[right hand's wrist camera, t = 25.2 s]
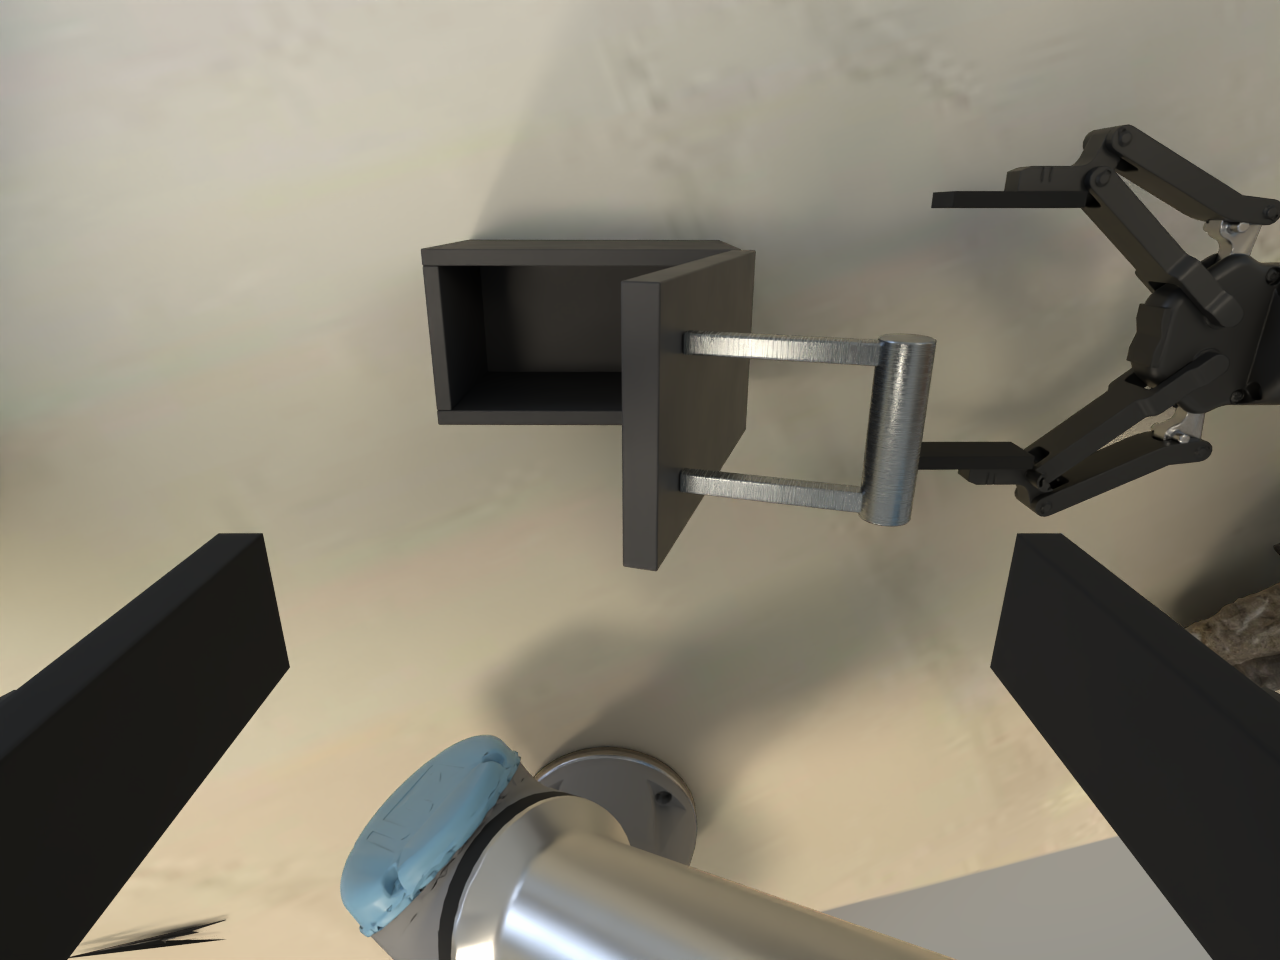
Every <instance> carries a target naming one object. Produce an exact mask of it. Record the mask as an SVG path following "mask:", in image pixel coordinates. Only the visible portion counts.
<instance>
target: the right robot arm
mask: <svg viewBox="0 0 1280 960" xmlns="http://www.w3.org/2000/svg"><path fill="white" fill-rule="evenodd" d="M289 668H290V666H289V661H288V656H287V651H286V646H285V641H284V636H283V631H282V626H281V621H280V616H279V611H278V606H277V601H276V597H275V592H274V587H273V582H272V577H271V572H270V567H269V562H268V557H267V552H266V547H265V542H264V537H263V533H219V534H217V535H216V536H215V537H213V538H212V539H211V540H210V541H208V542H207V543H206V544H204V545H203V546H202V547H201V548H199V549H198V550H197V551H195V552H194V553H193V554H191V555H190V556H189V557H188V558H186V559H185V560H184V561H182V562H181V563H180V564H179V565H177V566H176V567H175V568H173V569H172V570H171V571H170V572H168V573H167V574H166V575H164V576H163V577H162V578H161V579H159V580H158V581H157V582H155V583H154V584H153V585H151V586H150V587H149V588H148V589H146V590H145V591H144V592H142V593H141V594H140V595H139V596H137V597H136V598H135V599H133V600H132V601H131V602H130V603H128V604H127V605H126V606H124V607H123V608H122V609H120V610H119V611H118V612H117V613H115V614H114V615H113V616H111V617H110V618H109V619H108V620H106V621H105V622H104V623H102V624H101V625H100V626H99V627H97V628H96V629H95V630H93V631H92V632H91V633H89V634H88V635H87V636H86V637H84V638H83V639H82V640H80V641H79V642H78V643H77V644H75V645H74V646H73V647H71V648H70V649H69V650H68V651H66V652H65V653H64V654H62V655H61V656H60V657H59V658H57V659H56V660H55V661H53V662H52V663H51V664H49V665H48V666H47V667H46V668H44V669H43V670H42V671H40V672H39V673H38V674H37V675H35V676H34V677H33V678H31V679H30V680H29V681H28V682H26V683H25V684H24V685H22V686H21V687H20V688H18V689H17V690H13V691H11V692H9V693H7V694H5V695H3V696H1V697H0V960H67V959H68V958H69V957H70V955H71V954H72V953H73V951H74V950H75V949H76V948H77V946H78V945H79V944H80V942H81V941H82V940H83V938H84V937H85V936H86V934H87V933H88V932H89V930H90V929H91V928H92V927H93V925H94V924H95V923H96V921H97V920H98V919H99V917H100V916H101V915H102V913H103V912H104V911H105V909H106V908H107V907H108V905H109V904H110V903H111V902H112V900H113V899H114V898H115V896H116V895H117V894H118V892H119V891H120V890H121V888H122V887H123V886H124V884H125V883H126V882H127V881H128V879H129V878H130V877H131V875H132V874H133V873H134V871H135V870H136V869H137V867H138V866H139V865H140V863H141V862H142V861H143V860H144V858H145V857H146V856H147V854H148V853H149V852H150V850H151V849H152V848H153V846H154V845H155V844H156V842H157V841H158V840H159V838H160V837H161V836H162V835H163V833H164V832H165V831H166V829H167V828H168V827H169V825H170V824H171V823H172V821H173V820H174V819H175V817H176V816H177V815H178V814H179V812H180V811H181V810H182V808H183V807H184V806H185V804H186V803H187V802H188V800H189V799H190V798H191V796H192V795H193V794H194V792H195V791H196V790H197V789H198V787H199V786H200V785H201V783H202V782H203V781H204V779H205V778H206V777H207V775H208V774H209V773H210V771H211V770H212V769H213V768H214V766H215V765H216V764H217V762H218V761H219V760H220V758H221V757H222V756H223V754H224V753H225V752H226V750H227V749H228V748H229V747H230V745H231V744H232V743H233V741H234V740H235V739H236V737H237V736H238V735H239V733H240V732H241V731H242V729H243V728H244V727H245V725H246V724H247V723H248V722H249V720H250V719H251V718H252V716H253V715H254V714H255V712H256V711H257V710H258V708H259V707H260V706H261V704H262V703H263V702H264V701H265V699H266V698H267V697H268V695H269V694H270V693H271V691H272V690H273V689H274V687H275V686H276V685H277V683H278V682H279V681H280V679H281V678H282V677H283V676H284V674H285V673H286V672H287V670H288V669H289ZM990 668H991V669H992V670H993V672H994V673H995V674H996V676H997V677H998V678H999V680H1000V681H1001V682H1002V683H1003V685H1004V686H1005V687H1006V689H1007V690H1008V691H1009V693H1010V694H1011V695H1012V697H1013V698H1014V699H1015V701H1016V702H1017V703H1018V704H1019V706H1020V707H1021V708H1022V710H1023V711H1024V712H1025V714H1026V715H1027V716H1028V718H1029V719H1030V720H1031V722H1032V723H1033V724H1034V725H1035V727H1036V728H1037V729H1038V731H1039V732H1040V733H1041V735H1042V736H1043V737H1044V739H1045V740H1046V741H1047V743H1048V744H1049V745H1050V747H1051V748H1052V749H1053V750H1054V752H1055V753H1056V754H1057V756H1058V757H1059V758H1060V760H1061V761H1062V762H1063V764H1064V765H1065V766H1066V768H1067V769H1068V770H1069V771H1070V773H1071V774H1072V775H1073V777H1074V778H1075V779H1076V781H1077V782H1078V783H1079V785H1080V786H1081V787H1082V789H1083V790H1084V791H1085V792H1086V794H1087V795H1088V796H1089V798H1090V799H1091V800H1092V802H1093V803H1094V804H1095V806H1096V807H1097V808H1098V810H1099V811H1100V812H1101V814H1102V815H1103V816H1104V817H1105V819H1106V820H1107V821H1108V823H1109V824H1110V825H1111V827H1112V828H1113V829H1114V831H1115V832H1116V833H1117V835H1118V836H1119V837H1120V838H1121V840H1122V841H1123V842H1124V844H1125V845H1126V846H1127V848H1128V849H1129V850H1130V852H1131V853H1132V854H1133V856H1134V857H1135V858H1136V859H1137V861H1138V862H1139V863H1140V865H1141V866H1142V867H1143V869H1144V870H1145V871H1146V873H1147V874H1148V875H1149V877H1150V878H1151V879H1152V881H1153V882H1154V883H1155V884H1156V886H1157V887H1158V888H1159V890H1160V891H1161V892H1162V894H1163V895H1164V896H1165V897H1166V899H1167V900H1168V902H1169V903H1170V904H1171V905H1172V907H1173V908H1174V909H1175V911H1176V912H1177V913H1178V915H1179V916H1180V917H1181V919H1182V920H1183V921H1184V923H1185V924H1186V925H1187V926H1188V928H1189V929H1190V930H1191V932H1192V933H1193V934H1194V936H1195V937H1196V938H1197V940H1198V941H1199V942H1200V944H1201V945H1202V946H1203V947H1204V949H1205V950H1206V951H1207V953H1208V954H1209V955H1210V957H1211V958H1212V959H1213V960H1280V694H1279V693H1277V692H1275V691H1273V690H1271V689H1269V688H1267V687H1259V686H1258V685H1256V684H1255V683H1254V682H1252V681H1251V680H1250V679H1249V678H1247V677H1246V676H1245V675H1243V674H1242V673H1241V672H1240V671H1238V670H1237V669H1236V668H1234V667H1233V666H1232V665H1231V664H1229V663H1228V662H1227V661H1225V660H1224V659H1223V658H1221V657H1220V656H1219V655H1218V654H1216V653H1215V652H1214V651H1212V650H1211V649H1210V648H1209V647H1207V646H1206V645H1205V644H1203V643H1202V642H1201V641H1200V640H1198V639H1197V638H1196V637H1194V636H1193V635H1192V634H1191V633H1189V632H1188V631H1187V630H1185V629H1184V628H1183V627H1181V626H1180V625H1179V624H1178V623H1176V622H1175V621H1174V620H1172V619H1171V618H1170V617H1169V616H1167V615H1166V614H1165V613H1163V612H1162V611H1161V610H1160V609H1158V608H1157V607H1156V606H1154V605H1153V604H1152V603H1150V602H1149V601H1148V600H1147V599H1145V598H1144V597H1143V596H1141V595H1140V594H1139V593H1138V592H1136V591H1135V590H1134V589H1132V588H1131V587H1130V586H1129V585H1127V584H1126V583H1125V582H1123V581H1122V580H1121V579H1119V578H1118V577H1117V576H1116V575H1114V574H1113V573H1112V572H1110V571H1109V570H1108V569H1107V568H1105V567H1104V566H1103V565H1101V564H1100V563H1099V562H1098V561H1096V560H1095V559H1094V558H1092V557H1091V556H1090V555H1089V554H1087V553H1086V552H1085V551H1083V550H1082V549H1081V548H1079V547H1078V546H1077V545H1076V544H1074V543H1073V542H1072V541H1070V540H1069V539H1068V538H1067V537H1065V536H1064V535H1063V534H1061V533H1017V537H1016V542H1015V547H1014V552H1013V557H1012V562H1011V567H1010V572H1009V577H1008V582H1007V587H1006V592H1005V597H1004V601H1003V606H1002V611H1001V616H1000V621H999V626H998V631H997V636H996V641H995V646H994V651H993V656H992V661H991V666H990Z"/></svg>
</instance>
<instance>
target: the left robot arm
mask: <svg viewBox="0 0 1280 960" xmlns="http://www.w3.org/2000/svg"><path fill="white" fill-rule="evenodd" d="M1083 149H1084V150H1083V152H1082V154H1081V156H1080V158H1079V159H1078V161H1077V162H1076V163H1075V164H1073V165H1072V166H1029V167H1020V168H1016V169H1014V170H1011V171H1009V172H1007V177H1006V183H1005V189H1004V191H951V192H935V193H933V199H932V206H931V208H1081V209H1082V210H1083V211H1084V212H1085V213H1086V214H1087V215H1088V217H1089V218H1090V219H1091V220H1092V221H1093V222H1094V223H1095V224H1096V225H1097V227H1098V228H1099V229H1100V230H1101V231H1102V232H1103V233H1104V234H1105V235H1106V237H1107V238H1108V239H1109V240H1110V241H1111V242H1112V243H1113V244H1114V245H1115V247H1116V248H1117V249H1118V250H1119V251H1120V252H1121V253H1122V254H1123V255H1124V257H1125V258H1126V259H1127V260H1128V261H1129V262H1130V263H1131V264H1132V265H1133V267H1134V268H1135V269H1136V271H1135V274H1136V276H1137V277H1138V278H1139V279H1140V280H1141V281H1142V282H1143V284H1144V285H1145V286H1146V287H1147V288H1148V289H1149V290H1150V291H1151V292H1152V294H1151V295H1150V296H1149V298H1148V299H1147V301H1146V302H1145V304H1140V305H1139V309H1138V313H1137V317H1136V321H1137V333H1136V335H1135V337H1134V339H1133V341H1132V343H1131V345H1130V347H1129V351H1128V356H1127V360H1128V361H1131V365H1132V368H1131V369H1130V370H1128V371H1127V372H1126V373H1124V374H1123V375H1121V376H1120V377H1118V378H1117V379H1116V380H1114V381H1113V382H1112V383H1110V385H1109V389H1108V391H1107V392H1105V393H1104V394H1102V395H1101V396H1100V397H1098V398H1097V399H1095V400H1094V401H1092V402H1091V403H1090V404H1088V405H1087V406H1085V407H1084V408H1082V409H1081V410H1080V411H1078V412H1077V413H1075V414H1074V415H1073V416H1071V417H1070V418H1068V419H1067V420H1065V421H1064V422H1063V423H1061V424H1060V425H1058V426H1057V427H1055V428H1054V429H1053V430H1051V431H1050V432H1048V433H1047V434H1045V435H1044V436H1043V437H1041V438H1040V439H1038V440H1037V441H1035V442H1034V443H1033V444H1031V445H1030V446H1028V447H1027V448H1025V449H1024V450H1023V449H1022V448H1020V447H1018V446H1017V445H1015V444H1014V443H1012V442H922V444H921V451H920V458H919V464H918V470H951V469H958V474H960V475H961V476H962V477H963V478H965V479H966V480H967V481H969V482H971V483H974V484H976V485H986V484H987V485H993V484H994V485H1010V484H1016V486H1017V488H1016V490H1015V497H1016V498H1017V499H1018V500H1019V501H1020V502H1022V503H1023V504H1024V505H1026V506H1027V507H1028V508H1030V509H1031V510H1032V511H1034V512H1035V513H1036V514H1038V515H1039V516H1043V517H1046V516H1049V515H1052V514H1054V513H1056V512H1059V511H1061V510H1064V509H1066V508H1068V507H1071V506H1073V505H1075V504H1078V503H1080V502H1082V501H1085V500H1087V499H1090V498H1092V497H1094V496H1097V495H1099V494H1101V493H1104V492H1106V491H1109V490H1111V489H1113V488H1116V487H1118V486H1120V485H1123V484H1125V483H1127V482H1130V481H1132V480H1135V479H1137V478H1139V477H1142V476H1144V475H1146V474H1149V473H1151V472H1153V471H1156V470H1158V469H1161V468H1163V467H1165V466H1168V465H1173V464H1182V463H1191V462H1200V461H1203V460H1205V459H1207V458H1208V457H1209V456H1210V455H1211V452H1212V445H1211V444H1210V443H1209V442H1207V441H1205V440H1202V439H1201V435H1202V429H1203V422H1204V416H1205V413H1206V412H1209V411H1211V410H1213V409H1215V408H1217V407H1220V406H1224V405H1280V263H1261V262H1258V261H1256V260H1255V259H1253V258H1252V257H1251V256H1250V254H1251V251H1252V249H1253V246H1254V243H1255V241H1256V238H1257V236H1258V233H1259V231H1260V228H1261V226H1262V225H1270V224H1272V223H1275V222H1276V221H1277V220H1278V219H1279V217H1280V201H1278V200H1275V199H1268V198H1260V197H1252V196H1244V195H1241V194H1240V193H1238V192H1237V191H1235V190H1233V189H1232V188H1230V187H1229V186H1227V185H1226V184H1224V183H1222V182H1221V181H1219V180H1218V179H1216V178H1214V177H1213V176H1211V175H1210V174H1208V173H1207V172H1205V171H1203V170H1202V169H1200V168H1199V167H1197V166H1196V165H1194V164H1192V163H1191V162H1189V161H1188V160H1186V159H1184V158H1183V157H1181V156H1180V155H1178V154H1177V153H1175V152H1173V151H1172V150H1170V149H1169V148H1167V147H1165V146H1164V145H1162V144H1161V143H1159V142H1158V141H1156V140H1154V139H1153V138H1151V137H1150V136H1148V135H1146V134H1145V133H1143V132H1142V131H1140V130H1139V129H1137V128H1135V127H1134V126H1132V125H1122V126H1115V127H1110V128H1104V129H1099V130H1093V131H1092V132H1090V133H1088V135H1087V136H1086V137H1085V139H1084V141H1083ZM1117 173H1118V174H1120V175H1121V176H1123V177H1125V178H1126V179H1128V180H1129V181H1131V182H1133V183H1134V184H1136V185H1138V186H1139V187H1141V188H1142V189H1144V190H1146V191H1147V192H1149V193H1151V194H1152V195H1154V196H1155V197H1157V198H1159V199H1160V200H1162V201H1164V202H1165V203H1167V204H1168V205H1170V206H1172V207H1173V208H1175V209H1177V210H1178V211H1180V212H1181V213H1183V214H1185V215H1187V216H1189V217H1191V218H1194V219H1197V220H1200V221H1206V222H1205V224H1204V225H1203V229H1204V231H1205V232H1208V235H1209V236H1210V237H1212V238H1214V239H1216V240H1217V241H1218V243H1219V252H1218V253H1216V254H1213V255H1211V256H1209V257H1207V258H1205V259H1204V260H1202V261H1201V262H1200V261H1199V260H1197V259H1196V258H1194V257H1191V256H1189V255H1188V254H1187V253H1185V251H1184V250H1183V249H1182V248H1181V247H1180V246H1179V245H1178V243H1177V242H1176V241H1175V240H1174V239H1173V238H1172V236H1171V235H1170V234H1169V233H1168V232H1167V231H1166V230H1165V228H1164V227H1163V226H1162V225H1161V224H1160V223H1159V222H1158V220H1157V219H1156V218H1155V217H1154V216H1153V215H1152V213H1151V212H1150V211H1149V210H1148V209H1147V208H1146V207H1145V205H1144V204H1143V203H1142V202H1141V201H1140V200H1139V199H1138V197H1137V196H1136V195H1135V194H1134V193H1133V192H1132V190H1131V189H1130V188H1129V187H1128V186H1127V185H1126V184H1125V182H1124V181H1123V180H1122V179H1121V178H1120V177H1119V176H1118V174H1117ZM1146 386H1149V387H1150V388H1151V389H1145V387H1146ZM1171 406H1172V407H1174V408H1176V411H1175V414H1174V415H1173V416H1172V417H1171V418H1170V419H1169V420H1167V421H1164V422H1161V423H1155V424H1153V425H1152V427H1151V431H1150V432H1144V433H1140V434H1136V435H1133V436H1131V437H1128V438H1126V439H1123V440H1121V441H1119V442H1117V443H1114V444H1112V445H1110V446H1107V447H1105V448H1103V449H1100V448H1101V447H1103V446H1104V445H1106V444H1107V443H1109V442H1110V441H1112V440H1113V439H1115V438H1116V437H1117V436H1119V435H1120V434H1122V433H1123V432H1125V431H1126V430H1128V429H1129V428H1131V427H1132V426H1134V425H1135V424H1136V423H1138V422H1139V421H1141V420H1142V419H1144V418H1146V417H1149V416H1156V415H1159V414H1161V413H1162V412H1164V411H1165V410H1167V409H1168V408H1170V407H1171ZM1098 449H1100V450H1098ZM1097 450H1098V451H1097ZM696 833H697V820H696V810H695V804H694V801H693V797H692V795H691V793H690V791H689V789H688V787H687V785H686V784H685V783H684V781H683V780H682V779H681V778H680V777H679V775H678V774H677V773H676V772H674V771H673V770H672V769H671V768H670V767H668V766H667V765H666V764H664V763H662V762H661V761H659V760H657V759H655V758H653V757H651V756H649V755H646V754H644V753H641V752H637V751H634V750H629V749H624V748H615V747H597V748H589V749H584V750H579V751H576V752H572V753H570V754H567V755H564V756H562V757H560V758H558V759H556V760H554V761H553V762H551V763H549V764H548V765H547V766H545V767H544V768H543V769H542V770H541V771H540V772H538V773H537V774H536V776H535V777H532V776H531V775H530V774H529V772H528V771H527V770H526V769H525V767H524V766H523V765H522V763H521V762H520V757H519V756H518V752H516V751H512V750H511V749H510V748H509V747H508V746H507V745H506V744H505V743H504V742H503V741H502V740H501V739H499V738H497V737H495V736H491V735H480V736H474V737H470V738H467V739H465V740H462V741H460V742H458V743H456V744H454V745H452V746H450V747H449V748H447V749H445V750H444V751H442V752H441V753H439V754H438V755H437V756H436V757H434V758H432V759H431V760H430V761H428V762H427V763H425V764H424V765H423V766H422V767H421V768H419V769H418V770H417V771H416V772H415V773H414V774H413V775H412V776H410V777H409V778H408V779H407V780H406V781H405V782H404V783H403V784H402V785H401V786H400V787H399V788H398V789H397V790H396V791H395V792H394V793H393V794H392V795H391V796H390V797H389V798H388V799H387V800H386V802H385V803H384V804H383V805H382V806H381V807H380V809H379V810H378V811H377V812H376V814H375V815H374V816H373V817H372V819H371V820H370V821H369V823H368V824H367V826H366V827H365V828H364V830H363V831H362V833H361V834H360V836H359V838H358V839H357V841H356V843H355V845H354V848H353V849H352V851H351V852H350V854H349V856H348V858H347V861H346V863H345V866H344V870H343V873H342V877H341V884H340V892H341V898H342V901H343V904H344V906H345V907H346V909H347V910H348V911H349V912H350V914H351V915H352V916H353V917H354V918H355V920H356V921H357V922H358V923H359V924H360V932H361V933H362V934H364V935H365V936H367V937H370V936H371V937H372V938H373V939H374V940H375V941H376V942H377V943H378V944H379V945H380V946H381V947H382V948H383V949H384V950H385V951H386V952H387V953H388V954H389V955H390V956H391V957H392V958H393V959H394V960H956V959H953V958H951V957H948V956H945V955H942V954H939V953H936V952H933V951H930V950H928V949H925V948H922V947H919V946H916V945H913V944H910V943H907V942H905V941H902V940H899V939H896V938H893V937H890V936H887V935H885V934H882V933H879V932H876V931H873V930H870V929H867V928H864V927H862V926H859V925H856V924H853V923H850V922H847V921H844V920H842V919H839V918H836V917H833V916H830V915H827V914H824V913H822V912H819V911H816V910H813V909H810V908H807V907H804V906H802V905H799V904H796V903H793V902H790V901H787V900H784V899H781V898H779V897H776V896H773V895H770V894H767V893H764V892H761V891H759V890H756V889H753V888H750V887H747V886H744V885H741V884H738V883H736V882H733V881H730V880H727V879H724V878H721V877H718V876H716V875H713V874H710V873H707V872H704V871H701V870H698V869H695V868H693V867H690V863H691V859H692V856H693V853H694V849H695V844H696Z"/></svg>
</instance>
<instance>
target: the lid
mask: <svg viewBox="0 0 1280 960" xmlns="http://www.w3.org/2000/svg"><path fill="white" fill-rule="evenodd" d="M754 270H755V251H754V250H731V251H728V252H724V253H720V254H717V255H713V256H710V257H706V258H703V259H699V260H695V261H692V262H688V263H685V264H681V265H678V266H674V267H670V268H667V269H663V270H660V271H656V272H653V273H649V274H645V275H642V276H638V277H635V278H631V279H627V280H624V281H622V282H621V347H622V484H623V566H625V567H631V568H638V569H645V570H651V571H657V570H658V568H659V567H660V565H661V564H662V562H663V561H664V559H665V557H666V556H667V554H668V553H669V551H670V549H671V548H672V546H673V545H674V543H675V541H676V540H677V538H678V537H679V535H680V533H681V532H682V530H683V529H684V527H685V525H686V524H687V522H688V521H689V519H690V517H691V516H692V514H693V513H694V511H695V509H696V508H697V506H698V505H699V503H700V501H701V500H702V498H703V497H704V495H711V496H720V497H728V498H737V499H745V500H754V501H763V502H771V503H780V504H788V505H797V506H806V507H814V508H823V509H831V510H840V511H849V512H857V513H858V515H859V517H860V518H862V519H863V520H865V521H867V522H869V523H872V524H876V525H881V526H901V525H905V524H907V523H908V522H909V521H910V519H911V512H912V506H913V499H914V492H915V485H916V478H917V471H918V464H919V458H920V451H921V444H922V437H923V430H924V423H925V417H926V410H927V403H928V396H929V389H930V382H931V376H932V369H933V362H934V355H935V348H936V339H934V338H932V337H929V336H923V335H916V334H885V335H881V336H879V338H878V340H869V339H850V338H830V337H811V336H791V335H772V334H752V333H751V324H752V306H753V288H754ZM750 358H751V359H767V360H784V361H800V362H816V363H833V364H849V365H866V366H875V370H874V378H873V387H872V395H871V404H870V412H869V421H868V429H867V438H866V446H865V455H864V463H863V472H862V480H861V487H859V486H850V485H841V484H831V483H822V482H812V481H803V480H794V479H784V478H775V477H765V476H756V475H747V474H737V473H728V472H719V471H720V469H721V468H722V466H723V465H724V463H725V462H726V460H727V458H728V457H729V455H730V454H731V452H732V450H733V449H734V447H735V446H736V444H737V442H738V441H739V439H740V438H741V436H742V434H743V433H744V431H745V429H746V414H747V396H748V378H749V360H750Z"/></svg>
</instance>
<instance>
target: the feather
mask: <svg viewBox="0 0 1280 960" xmlns="http://www.w3.org/2000/svg"><path fill="white" fill-rule="evenodd" d="M222 921H225V920H222ZM222 921H218V922H214V923H210V924H205V925H201V926H197V927H193V928H189V929H185V930H180V931H176V932H172V933H168V934H164V935H160V936H155V937H151V938H147V939H143V940H139V941H135V942H130V943H126V944H122V945H118V946H114V947H110V948H105V949H101V950H97V951H93V952H89V953H85V954H80V955H76V956H72V957H69V958H74V957H82V956H90V955H99V954H107V953H116V952H124V951H132V950H141V949H149V948H158V947H166V946H175V945H183V944H191V943H200V942H208V941H217V940H225V939H214V940H210V939H209V940H190V939H188V940H169V939H173V938H176V937H179V936H184V935H189V934H194V933H199V932H194V931H193V930H196V929H200V928H203V927H206V926H209V925H212V924H215V923H219V922H222ZM216 936H217V935H216ZM196 939H197V938H196ZM166 940H167V941H166Z"/></svg>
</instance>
